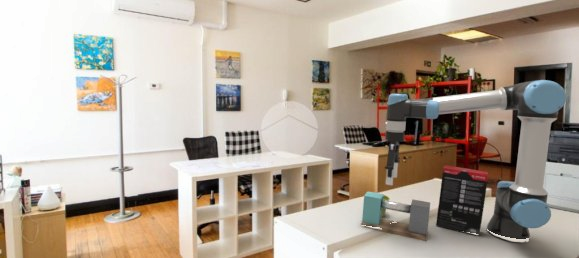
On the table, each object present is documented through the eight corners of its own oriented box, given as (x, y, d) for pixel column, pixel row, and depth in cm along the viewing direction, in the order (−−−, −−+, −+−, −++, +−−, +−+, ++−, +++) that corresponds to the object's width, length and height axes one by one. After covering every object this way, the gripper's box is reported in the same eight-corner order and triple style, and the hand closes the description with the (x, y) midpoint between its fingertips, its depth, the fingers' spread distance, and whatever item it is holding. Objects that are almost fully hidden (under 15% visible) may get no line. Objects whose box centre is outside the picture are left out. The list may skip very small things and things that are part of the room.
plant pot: (365, 215, 150) (367, 197, 149) (370, 209, 158) (371, 192, 157) (385, 220, 145) (387, 201, 144) (389, 213, 154) (391, 196, 153)
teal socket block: (381, 219, 142) (383, 194, 140) (378, 225, 135) (380, 198, 134) (365, 216, 145) (367, 191, 143) (362, 221, 138) (364, 195, 137)
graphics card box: (480, 231, 138) (488, 170, 135) (480, 237, 132) (488, 173, 129) (437, 221, 147) (443, 163, 143) (435, 227, 141) (442, 166, 137)
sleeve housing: (427, 229, 134) (430, 202, 132) (426, 236, 127) (429, 207, 126) (409, 225, 137) (412, 199, 135) (408, 232, 130) (411, 204, 129)
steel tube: (414, 212, 134) (415, 204, 133) (414, 215, 131) (414, 207, 130) (373, 204, 141) (374, 197, 140) (372, 207, 138) (372, 199, 137)
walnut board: (427, 231, 135) (427, 228, 135) (426, 241, 126) (426, 237, 126) (365, 218, 146) (366, 215, 146) (361, 226, 137) (361, 223, 137)
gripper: (390, 127, 145) (386, 173, 148) (380, 133, 123) (377, 186, 125) (407, 129, 142) (403, 175, 144) (401, 135, 120) (397, 189, 122)
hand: (391, 180), depth 135 cm, fingers open, 13 cm apart
